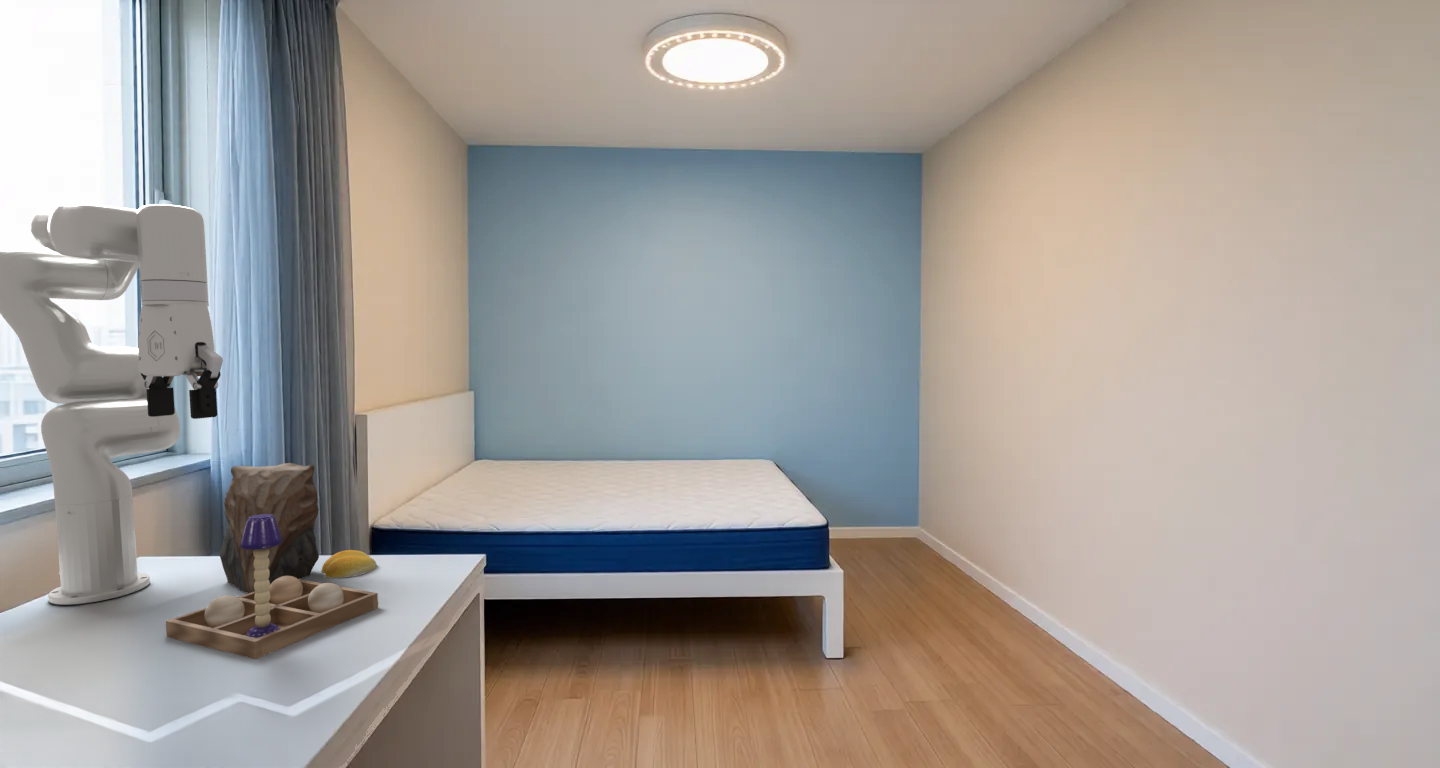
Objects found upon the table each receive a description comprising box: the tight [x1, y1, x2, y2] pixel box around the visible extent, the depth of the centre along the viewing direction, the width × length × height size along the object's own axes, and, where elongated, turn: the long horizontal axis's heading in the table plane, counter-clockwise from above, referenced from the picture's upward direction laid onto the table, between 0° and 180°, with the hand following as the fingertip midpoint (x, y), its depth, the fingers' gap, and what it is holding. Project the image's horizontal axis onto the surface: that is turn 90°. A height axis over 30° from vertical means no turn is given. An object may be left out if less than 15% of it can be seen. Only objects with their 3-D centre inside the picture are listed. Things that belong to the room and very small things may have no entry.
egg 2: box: [268, 576, 303, 605], centre depth 106 cm, size 5×5×5 cm
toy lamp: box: [241, 514, 282, 638], centre depth 95 cm, size 5×5×17 cm
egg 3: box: [308, 582, 344, 613], centre depth 103 cm, size 5×5×5 cm
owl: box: [219, 462, 320, 594], centre depth 120 cm, size 13×13×20 cm
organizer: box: [165, 579, 379, 660], centre depth 101 cm, size 18×18×3 cm
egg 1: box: [204, 594, 245, 628], centre depth 98 cm, size 5×5×5 cm
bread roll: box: [321, 549, 377, 579], centre depth 124 cm, size 8×9×4 cm
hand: (182, 416), depth 100 cm, fingers open, 9 cm apart
